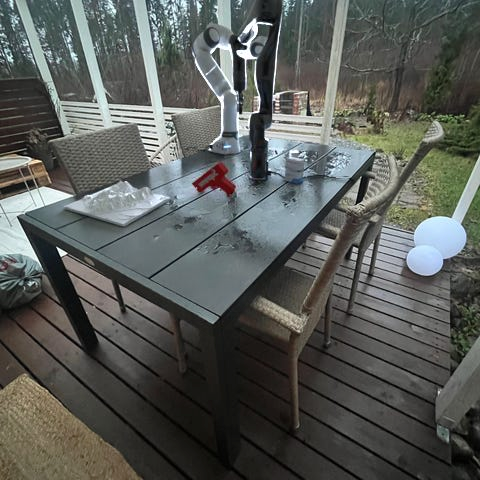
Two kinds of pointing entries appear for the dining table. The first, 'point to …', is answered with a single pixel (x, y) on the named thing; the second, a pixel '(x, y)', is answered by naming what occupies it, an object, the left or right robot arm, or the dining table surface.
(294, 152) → the block
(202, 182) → the toy gun
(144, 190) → the relief map
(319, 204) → the dining table surface
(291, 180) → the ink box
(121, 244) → the dining table surface
